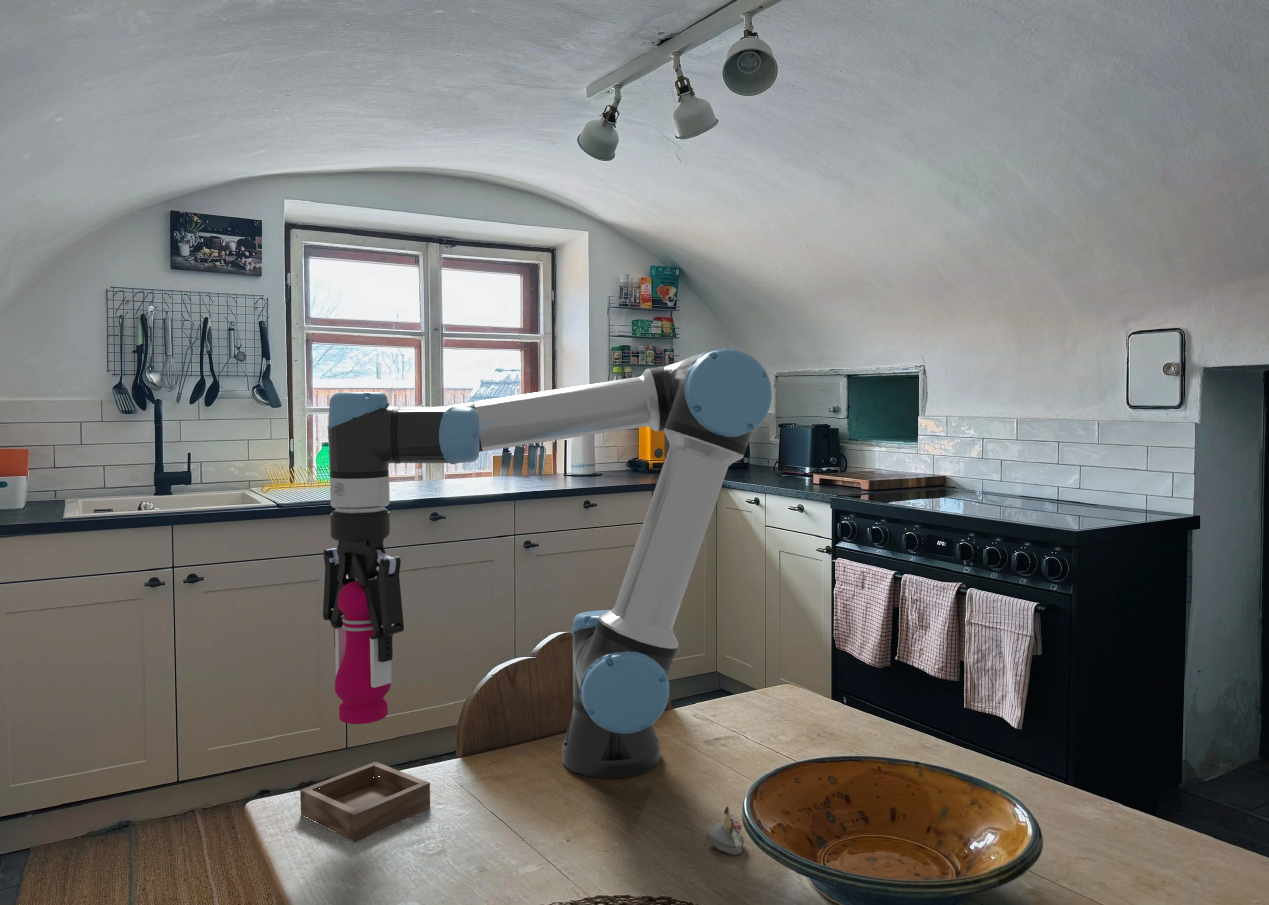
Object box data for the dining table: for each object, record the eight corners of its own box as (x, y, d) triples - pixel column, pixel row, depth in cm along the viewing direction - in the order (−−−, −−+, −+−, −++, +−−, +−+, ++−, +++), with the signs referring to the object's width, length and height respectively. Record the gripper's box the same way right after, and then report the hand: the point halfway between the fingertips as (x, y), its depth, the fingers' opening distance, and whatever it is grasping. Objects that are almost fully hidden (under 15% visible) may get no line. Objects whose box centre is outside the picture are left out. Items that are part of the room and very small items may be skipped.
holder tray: (430, 807, 123) (429, 782, 123) (355, 841, 113) (354, 814, 113) (375, 785, 130) (375, 761, 130) (300, 815, 121) (300, 789, 120)
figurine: (697, 842, 113) (704, 798, 112) (724, 833, 115) (730, 790, 114) (725, 866, 108) (732, 820, 107) (752, 856, 111) (759, 812, 110)
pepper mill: (375, 727, 117) (372, 574, 116) (324, 723, 118) (321, 572, 117) (400, 709, 124) (398, 564, 123) (352, 705, 125) (349, 562, 124)
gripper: (292, 506, 123) (295, 672, 124) (383, 517, 110) (386, 701, 112) (340, 501, 128) (343, 660, 130) (431, 511, 116) (434, 686, 118)
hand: (363, 679), depth 121 cm, fingers closed on pepper mill, 7 cm apart
